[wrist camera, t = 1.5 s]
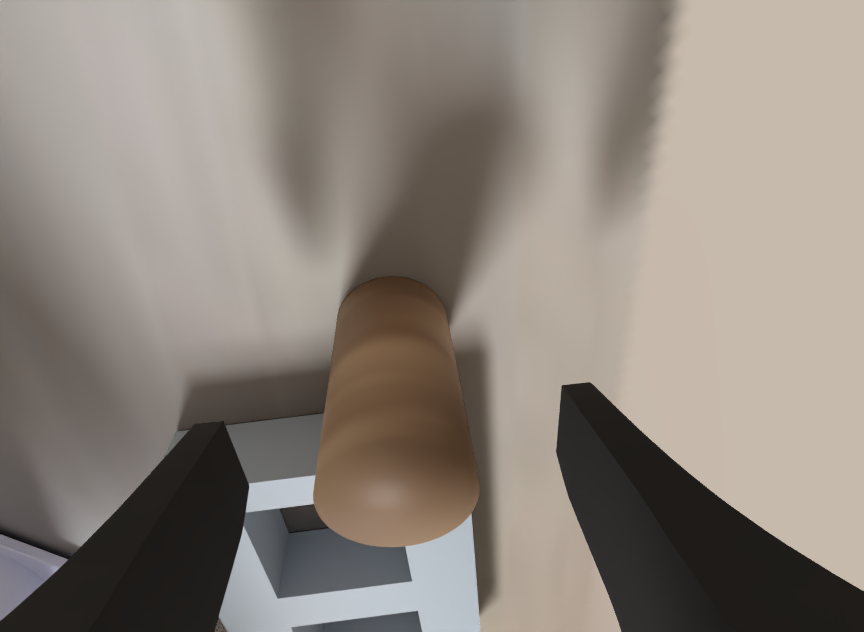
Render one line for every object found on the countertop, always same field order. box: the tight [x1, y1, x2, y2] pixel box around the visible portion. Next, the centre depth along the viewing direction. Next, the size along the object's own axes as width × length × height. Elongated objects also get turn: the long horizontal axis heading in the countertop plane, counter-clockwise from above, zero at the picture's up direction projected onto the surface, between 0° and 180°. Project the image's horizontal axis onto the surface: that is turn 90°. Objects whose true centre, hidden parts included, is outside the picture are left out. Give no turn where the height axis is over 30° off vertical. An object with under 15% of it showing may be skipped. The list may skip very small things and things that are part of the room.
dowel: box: [313, 277, 480, 547], centre depth 12 cm, size 3×3×6 cm
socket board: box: [164, 413, 480, 632], centre depth 19 cm, size 14×9×2 cm, turn 5°
